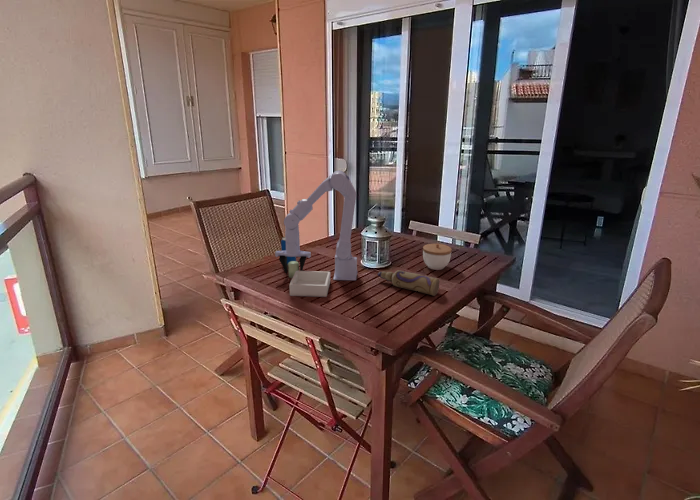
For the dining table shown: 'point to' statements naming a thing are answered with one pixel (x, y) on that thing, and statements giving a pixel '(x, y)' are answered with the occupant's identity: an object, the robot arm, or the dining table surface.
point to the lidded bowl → (436, 255)
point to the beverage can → (283, 247)
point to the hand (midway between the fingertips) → (293, 272)
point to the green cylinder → (293, 268)
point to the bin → (310, 283)
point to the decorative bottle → (412, 281)
